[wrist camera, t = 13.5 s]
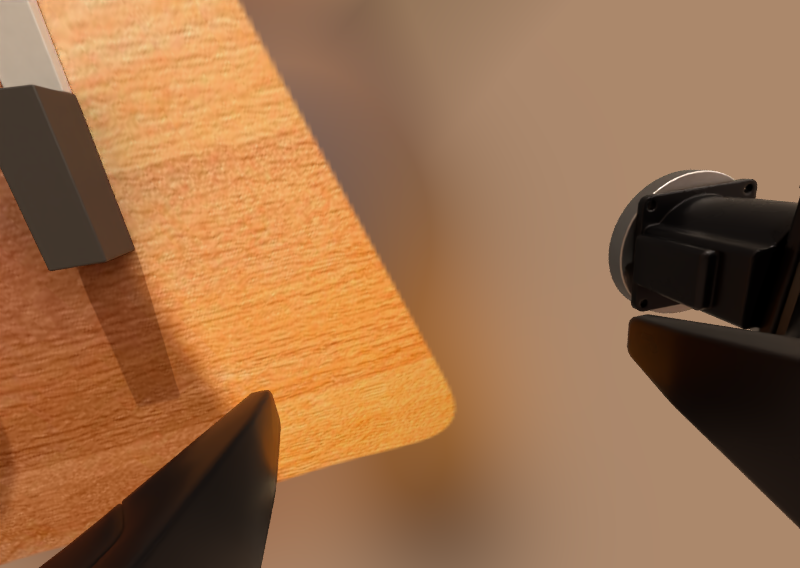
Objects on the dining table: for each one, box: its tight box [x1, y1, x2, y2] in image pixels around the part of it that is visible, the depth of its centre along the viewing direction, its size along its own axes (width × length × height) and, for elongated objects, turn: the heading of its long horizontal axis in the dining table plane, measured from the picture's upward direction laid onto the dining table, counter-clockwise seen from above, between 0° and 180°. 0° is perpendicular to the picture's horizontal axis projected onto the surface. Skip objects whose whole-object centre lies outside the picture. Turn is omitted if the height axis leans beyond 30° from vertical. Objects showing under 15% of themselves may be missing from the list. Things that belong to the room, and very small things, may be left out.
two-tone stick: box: [0, 0, 134, 271], centre depth 15 cm, size 17×2×2 cm, turn 8°
